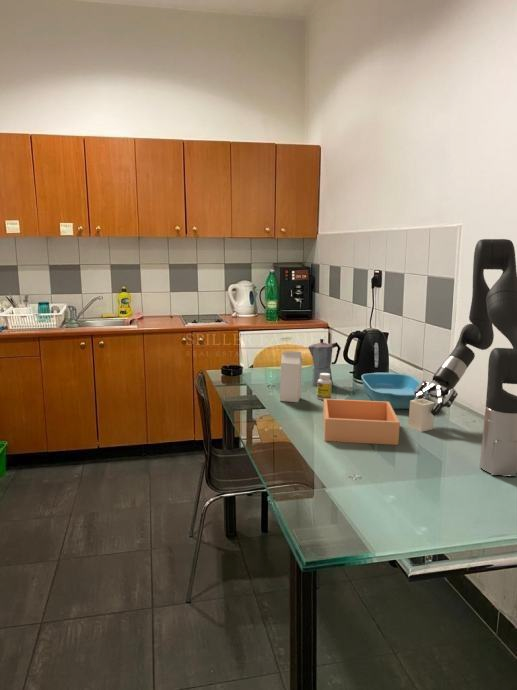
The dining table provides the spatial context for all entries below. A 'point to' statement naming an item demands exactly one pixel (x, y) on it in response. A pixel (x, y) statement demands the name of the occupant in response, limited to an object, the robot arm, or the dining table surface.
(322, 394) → the supplement bottle
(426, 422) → the small crate
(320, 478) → the dining table surface
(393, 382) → the casserole dish
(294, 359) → the milk carton
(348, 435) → the large crate
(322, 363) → the moka pot
